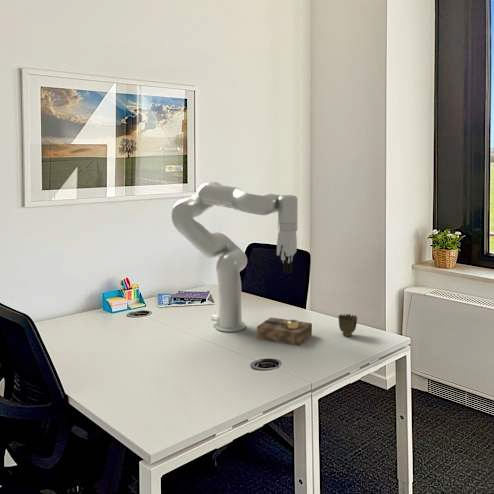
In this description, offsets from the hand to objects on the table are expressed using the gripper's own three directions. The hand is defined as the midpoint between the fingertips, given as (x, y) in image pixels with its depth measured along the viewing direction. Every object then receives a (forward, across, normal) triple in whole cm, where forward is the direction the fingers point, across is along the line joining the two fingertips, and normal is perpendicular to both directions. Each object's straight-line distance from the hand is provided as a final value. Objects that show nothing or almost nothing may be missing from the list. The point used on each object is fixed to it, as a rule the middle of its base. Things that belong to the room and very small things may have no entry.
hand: (287, 272), depth 223 cm
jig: (+25, +5, +1) cm, 26 cm away
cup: (+25, -7, +23) cm, 35 cm away
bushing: (+25, +5, +4) cm, 26 cm away
